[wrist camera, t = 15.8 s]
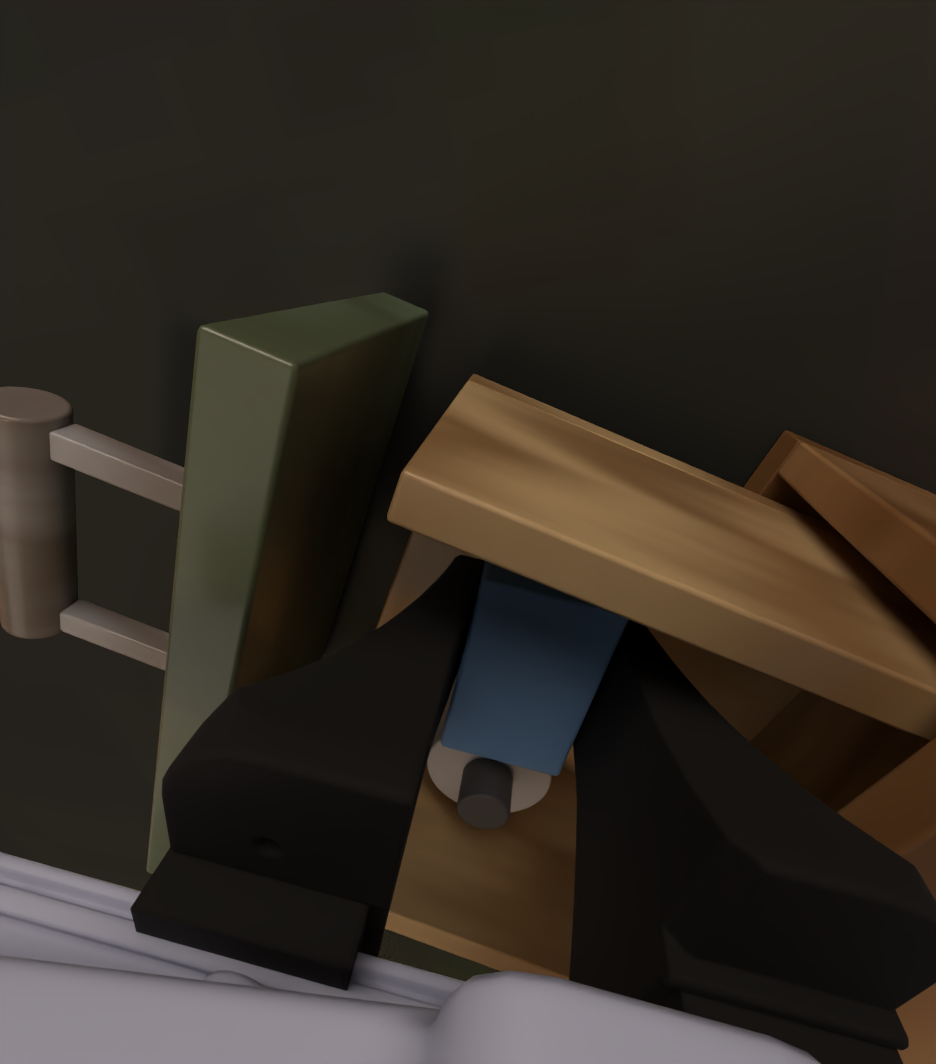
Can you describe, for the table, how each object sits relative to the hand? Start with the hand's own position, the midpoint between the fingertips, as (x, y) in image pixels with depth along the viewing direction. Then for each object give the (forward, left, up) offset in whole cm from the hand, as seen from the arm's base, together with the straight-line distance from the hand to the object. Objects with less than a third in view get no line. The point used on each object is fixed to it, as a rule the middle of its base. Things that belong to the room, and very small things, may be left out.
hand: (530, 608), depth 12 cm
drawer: (+1, -1, -3) cm, 3 cm away
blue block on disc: (+1, 0, -1) cm, 2 cm away
